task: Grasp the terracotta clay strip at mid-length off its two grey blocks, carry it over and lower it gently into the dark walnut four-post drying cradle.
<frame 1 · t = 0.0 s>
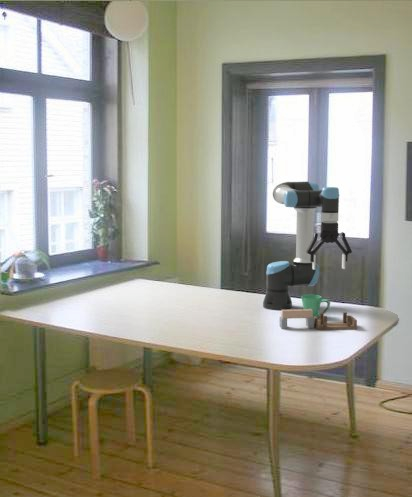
hand: (328, 269, 324), 28 cm above the table, fingers open, 13 cm apart
rack: (334, 327, 332), on the table
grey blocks: (296, 327, 332), on the table
mug: (315, 317, 351), on the table
clay strip: (296, 317, 332), point 4 cm above the table, touching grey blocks
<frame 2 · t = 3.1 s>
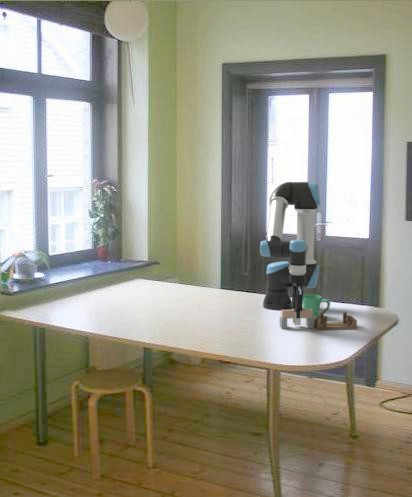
hand: (296, 323, 332), 2 cm above the table, fingers closed on clay strip, 3 cm apart
clay strip: (296, 317, 332), point 4 cm above the table, touching gripper, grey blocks
everything else where it was.
when the fingers open (2 cm above the table, at t = 7.6 s): clay strip drops 3 cm, resting on rack.
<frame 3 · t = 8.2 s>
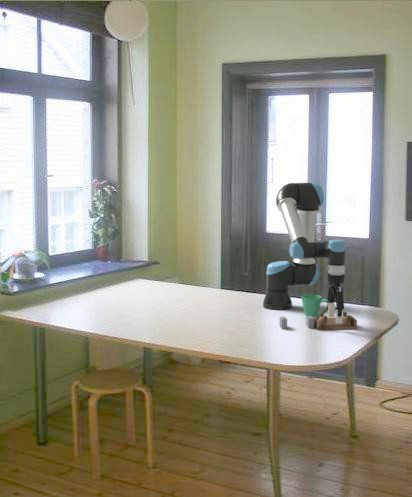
hand: (335, 319, 332), 3 cm above the table, fingers open, 12 cm apart
clay strip: (334, 324, 332), point 1 cm above the table, touching rack
everything else where it was.
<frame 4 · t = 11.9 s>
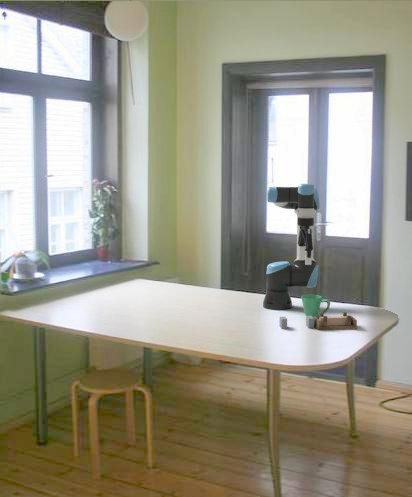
hand: (304, 262, 338), 29 cm above the table, fingers open, 13 cm apart
nothing on the table moved.
at the end: clay strip 0.1 cm off-centre on the rack, point 1.2 cm above the rack's base; clay strip tilted 0°; the gripper is holding nothing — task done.
